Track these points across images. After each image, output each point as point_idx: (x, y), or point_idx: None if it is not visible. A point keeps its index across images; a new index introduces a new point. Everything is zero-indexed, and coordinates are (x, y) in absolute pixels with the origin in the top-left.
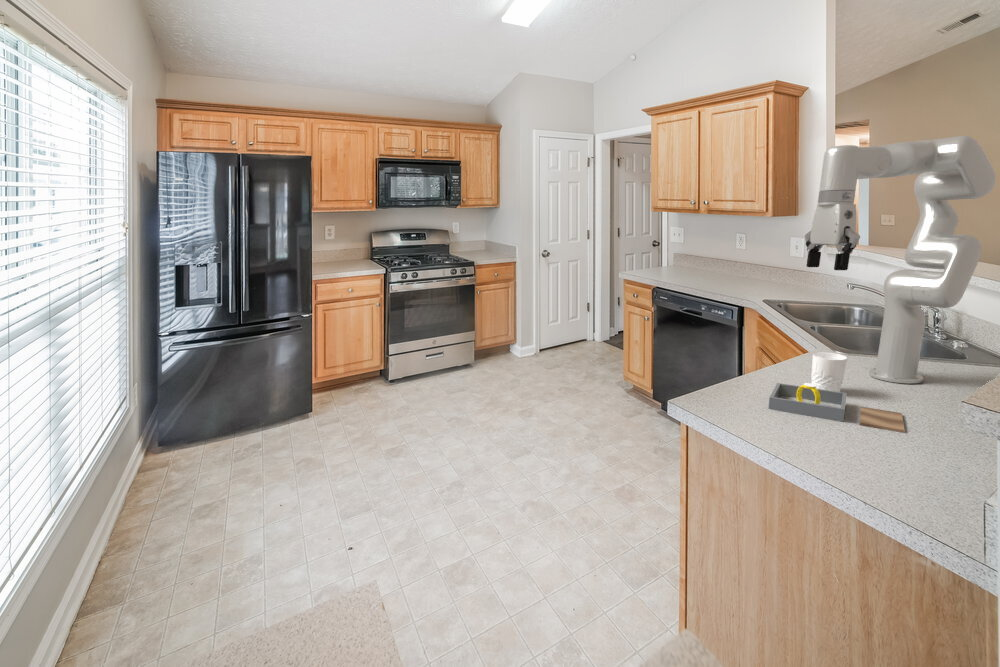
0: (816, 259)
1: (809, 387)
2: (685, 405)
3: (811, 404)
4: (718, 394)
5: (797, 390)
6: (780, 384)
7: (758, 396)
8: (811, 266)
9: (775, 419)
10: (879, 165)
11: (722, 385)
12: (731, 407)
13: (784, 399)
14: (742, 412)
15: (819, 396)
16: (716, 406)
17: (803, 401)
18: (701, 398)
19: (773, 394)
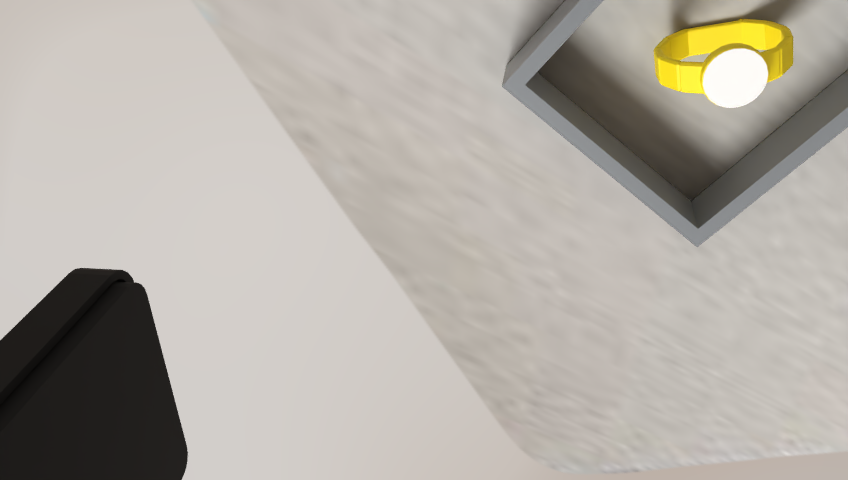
0: (75, 461)
1: (756, 95)
2: (579, 455)
3: (842, 129)
4: (481, 305)
5: (663, 83)
6: (525, 82)
7: (533, 169)
8: (174, 420)
9: (807, 261)
10: None
11: (365, 233)
12: (637, 335)
13: (743, 205)
14: (698, 328)
15: (792, 44)
16: (613, 375)
17: (678, 37)
18: (517, 380)
19: (665, 209)
